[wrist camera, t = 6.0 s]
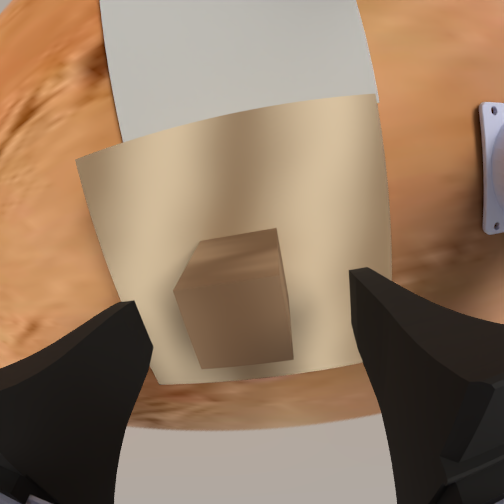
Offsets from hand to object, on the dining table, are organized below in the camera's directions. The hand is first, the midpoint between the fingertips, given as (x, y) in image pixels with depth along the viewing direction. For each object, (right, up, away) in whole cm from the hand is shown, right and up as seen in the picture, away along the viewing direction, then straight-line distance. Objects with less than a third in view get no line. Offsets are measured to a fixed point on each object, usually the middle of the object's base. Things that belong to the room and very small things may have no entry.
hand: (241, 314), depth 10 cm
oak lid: (0, +2, +4) cm, 4 cm away
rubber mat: (-1, +14, +2) cm, 15 cm away
